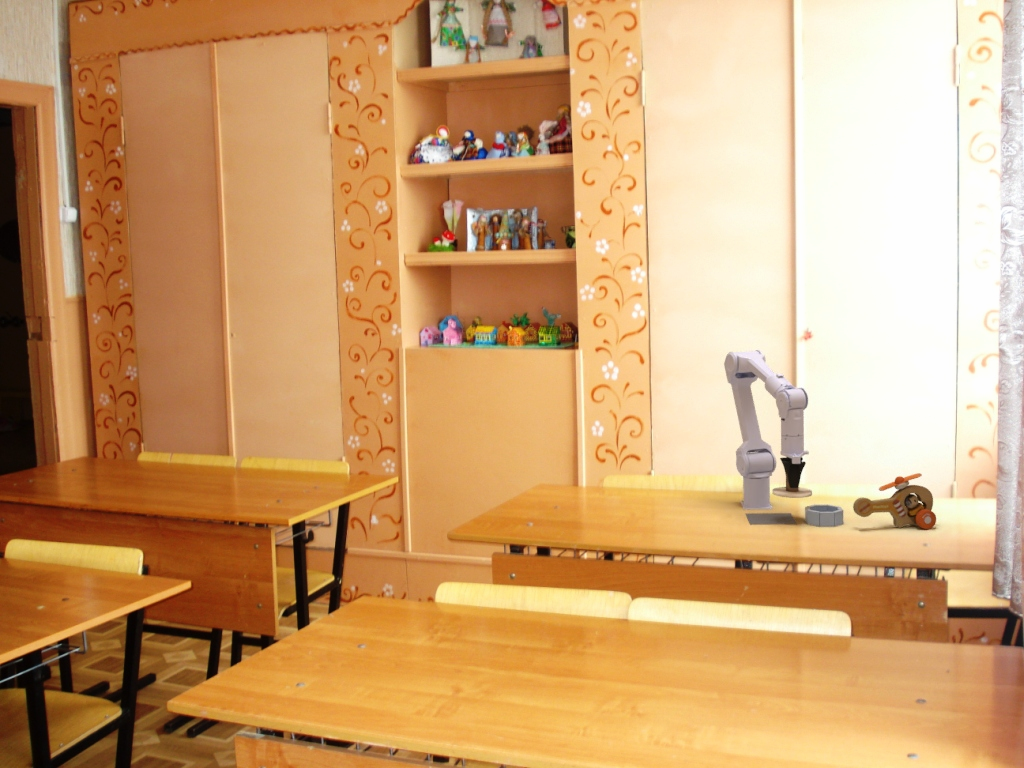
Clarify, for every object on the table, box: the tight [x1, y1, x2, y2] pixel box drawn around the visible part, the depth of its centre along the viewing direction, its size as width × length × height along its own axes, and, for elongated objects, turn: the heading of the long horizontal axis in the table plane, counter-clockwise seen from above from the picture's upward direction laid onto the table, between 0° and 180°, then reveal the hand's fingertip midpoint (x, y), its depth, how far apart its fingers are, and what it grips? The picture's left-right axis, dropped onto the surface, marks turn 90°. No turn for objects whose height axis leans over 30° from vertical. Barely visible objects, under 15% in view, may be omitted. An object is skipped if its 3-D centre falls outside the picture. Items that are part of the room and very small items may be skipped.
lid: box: [772, 473, 813, 499], centre depth 259 cm, size 10×10×5 cm
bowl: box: [804, 504, 844, 528], centre depth 257 cm, size 9×9×4 cm
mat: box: [745, 512, 798, 526], centre depth 263 cm, size 12×12×1 cm
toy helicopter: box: [852, 473, 937, 530], centre depth 250 cm, size 8×21×14 cm, turn 98°
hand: (793, 486), depth 259 cm, fingers closed on lid, 3 cm apart
